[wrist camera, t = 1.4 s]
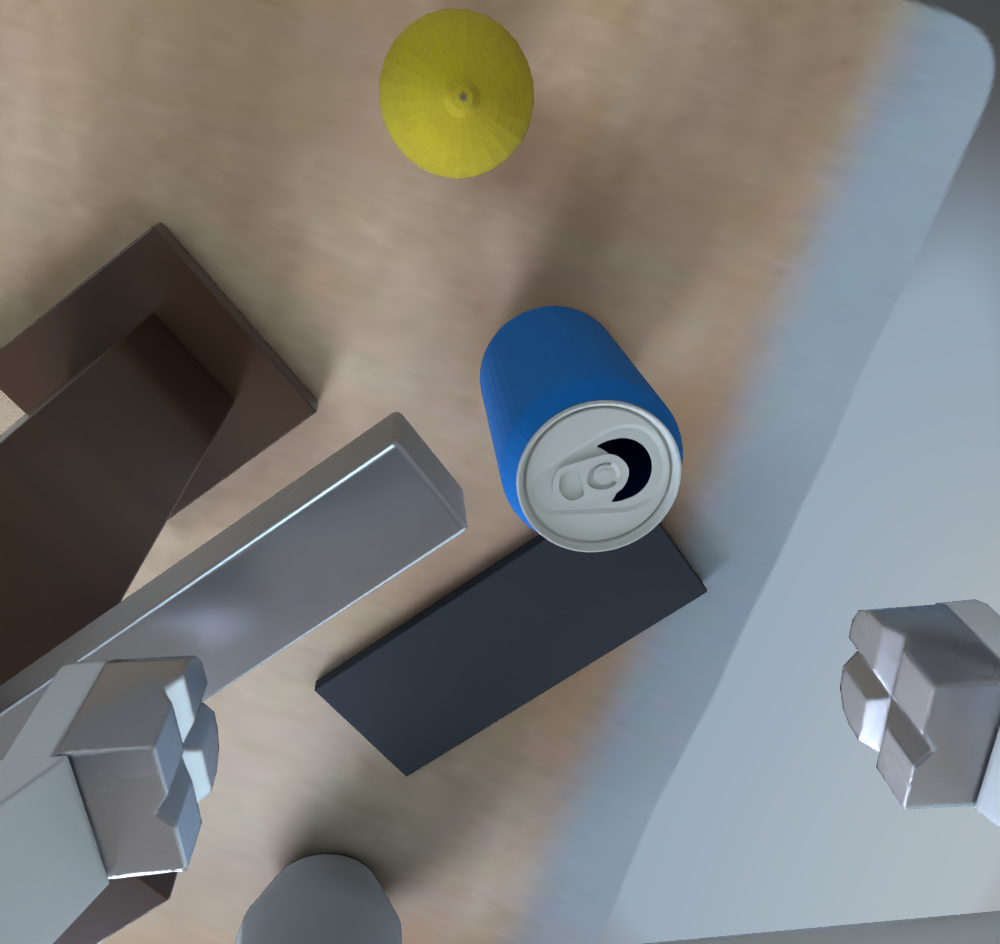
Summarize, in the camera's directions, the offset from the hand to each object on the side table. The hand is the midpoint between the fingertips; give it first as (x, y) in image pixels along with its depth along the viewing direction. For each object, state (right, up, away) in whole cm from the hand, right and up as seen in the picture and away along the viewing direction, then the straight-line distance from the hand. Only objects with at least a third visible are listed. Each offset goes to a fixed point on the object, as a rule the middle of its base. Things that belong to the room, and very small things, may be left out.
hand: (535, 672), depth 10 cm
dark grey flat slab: (0, -6, +34) cm, 35 cm away
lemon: (-2, +18, +23) cm, 29 cm away
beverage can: (+2, +7, +28) cm, 30 cm away
